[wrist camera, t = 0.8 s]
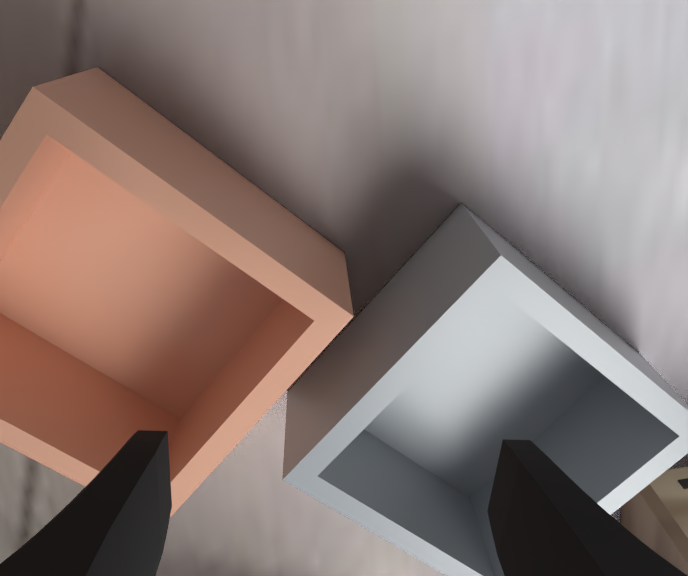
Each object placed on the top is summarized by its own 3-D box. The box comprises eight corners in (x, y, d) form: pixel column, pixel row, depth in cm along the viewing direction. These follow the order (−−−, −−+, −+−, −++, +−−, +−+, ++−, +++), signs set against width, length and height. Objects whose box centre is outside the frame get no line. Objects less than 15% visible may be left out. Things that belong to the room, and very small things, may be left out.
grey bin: (466, 506, 28) (496, 605, 23) (287, 392, 25) (282, 479, 20) (639, 353, 25) (714, 432, 20) (461, 202, 22) (500, 255, 17)
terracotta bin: (188, 432, 25) (161, 526, 21) (-48, 295, 22) (-139, 370, 18) (344, 252, 22) (353, 316, 18) (97, 66, 19) (32, 86, 15)
